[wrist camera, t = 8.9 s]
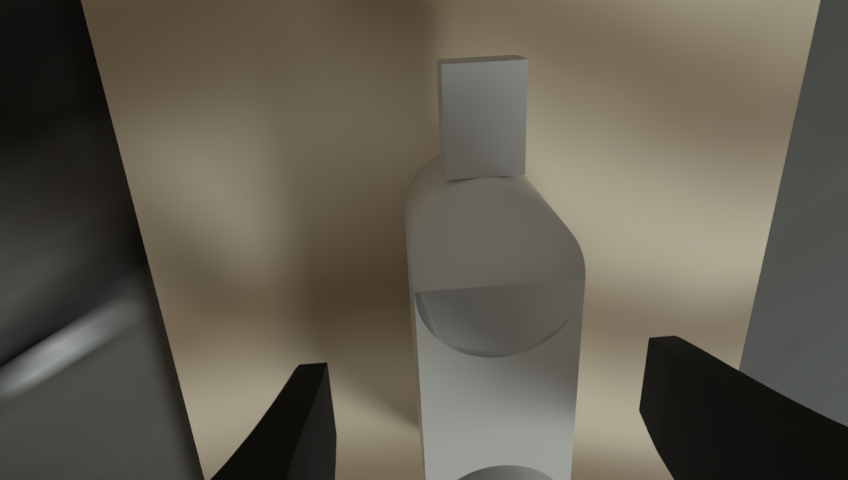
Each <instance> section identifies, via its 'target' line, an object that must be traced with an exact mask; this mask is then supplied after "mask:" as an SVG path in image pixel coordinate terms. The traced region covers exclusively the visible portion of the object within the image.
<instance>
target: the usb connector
mask: <svg viewBox="0 0 848 480" xmlns="http://www.w3.org/2000/svg"><path fill="white" fill-rule="evenodd" d="M436 60H437V87H438V114H439V140H440V155H439V156H437V157H435V158H433V159H432V160H431V161H429V162H428V163H427V164H426V165H425V166H424V167H423V168H422V169H421V170H420V171H419V172H418V173H417V175H416V176H415V178H414V179H413V181H412V182H411V184H410V187H409V189H408V192H407V195H406V199H405V206H404V217H405V232H406V248H407V263H408V278H409V293H410V308H411V323H412V338H413V353H414V368H415V383H416V398H417V412H418V422H419V432H420V442H421V453H422V463H423V473H424V480H571V467H572V454H573V440H574V427H575V413H576V400H577V386H578V373H579V359H580V346H581V332H582V318H583V305H584V291H585V262H584V257H583V254H582V250H581V248H580V246H579V244H578V242H577V240H576V238H575V237H574V235H573V234H572V233H571V231H570V230H569V229H568V227H567V226H566V225H565V224H564V223H563V221H562V220H561V219H560V218H559V216H558V215H557V214H556V213H555V212H554V210H553V209H552V208H551V207H550V205H549V204H548V203H547V202H546V201H545V199H544V198H543V197H542V196H541V194H540V193H539V192H538V191H537V189H536V188H535V187H534V186H533V185H532V183H531V182H530V181H529V180H528V178H527V177H526V176H525V159H526V117H527V76H528V59H526V58H524V57H521V56H519V55H501V56H484V57H467V58H450V59H436Z"/></svg>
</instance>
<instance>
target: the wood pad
mask: <svg viewBox="0 0 848 480" xmlns="http://www.w3.org/2000/svg"><path fill="white" fill-rule="evenodd" d="M81 3H82V7H83V11H84V14H85V18H86V22H87V26H88V30H89V34H90V38H91V42H92V45H93V49H94V53H95V57H96V61H97V65H98V69H99V73H100V76H101V80H102V84H103V88H104V92H105V96H106V100H107V104H108V107H109V111H110V115H111V119H112V123H113V127H114V131H115V135H116V138H117V142H118V146H119V150H120V154H121V158H122V162H123V166H124V169H125V173H126V177H127V181H128V185H129V189H130V193H131V197H132V200H133V204H134V208H135V212H136V216H137V220H138V224H139V228H140V231H141V235H142V239H143V243H144V247H145V251H146V255H147V259H148V262H149V266H150V270H151V274H152V278H153V282H154V286H155V289H156V293H157V297H158V301H159V305H160V309H161V313H162V317H163V320H164V324H165V328H166V332H167V336H168V340H169V344H170V348H171V351H172V355H173V359H174V363H175V367H176V371H177V375H178V379H179V382H180V386H181V390H182V394H183V398H184V402H185V406H186V410H187V413H188V417H189V421H190V425H191V429H192V433H193V437H194V441H195V444H196V448H197V452H198V456H199V460H200V464H201V468H202V472H203V475H204V479H205V480H210V479H211V478H212V477H213V476H214V475H215V474H216V473H217V472H218V471H219V470H220V468H221V467H222V466H223V465H224V464H225V463H226V462H227V461H228V459H229V458H230V457H231V456H232V455H233V453H234V452H235V451H236V450H237V449H238V447H239V446H240V445H241V444H242V443H243V441H244V440H245V439H246V438H247V437H248V435H249V434H250V433H251V432H252V430H253V429H254V428H255V426H256V425H257V424H258V422H259V421H260V420H261V418H262V417H263V415H264V414H265V413H266V411H267V410H268V409H269V407H270V406H271V405H272V403H273V402H274V400H275V399H276V397H277V396H278V394H279V393H280V391H281V390H282V388H283V387H284V385H285V384H286V382H287V381H288V379H289V378H290V376H291V374H292V373H293V371H294V370H295V368H296V367H297V366H298V365H299V364H311V363H324V362H327V363H328V371H329V379H330V387H331V395H332V402H333V410H334V418H335V426H336V434H337V443H336V469H335V480H424V473H423V463H422V453H421V442H420V432H419V422H418V412H417V398H416V383H415V368H414V353H413V338H412V323H411V308H410V293H409V278H408V263H407V248H406V232H405V217H404V206H405V199H406V195H407V192H408V189H409V187H410V184H411V182H412V181H413V179H414V178H415V176H416V175H417V173H418V172H419V171H420V170H421V169H422V168H423V167H424V166H425V165H426V164H427V163H428V162H429V161H431V160H432V159H433V158H435V157H437V156H439V155H440V140H439V114H438V87H437V60H436V59H450V58H467V57H484V56H501V55H519V56H521V57H524V58H526V59H528V76H527V117H526V159H525V176H526V177H527V178H528V180H529V181H530V182H531V183H532V185H533V186H534V187H535V188H536V189H537V191H538V192H539V193H540V194H541V196H542V197H543V198H544V199H545V201H546V202H547V203H548V204H549V205H550V207H551V208H552V209H553V210H554V212H555V213H556V214H557V215H558V216H559V218H560V219H561V220H562V221H563V223H564V224H565V225H566V226H567V227H568V229H569V230H570V231H571V233H572V234H573V235H574V237H575V238H576V240H577V242H578V244H579V246H580V248H581V250H582V254H583V257H584V262H585V291H584V305H583V318H582V332H581V346H580V359H579V373H578V386H577V400H576V413H575V427H574V440H573V454H572V467H571V480H674V479H673V477H672V475H671V474H670V472H669V471H668V469H667V467H666V466H665V464H664V462H663V461H662V459H661V457H660V456H659V454H658V452H657V450H656V448H655V446H654V444H653V442H652V440H651V437H650V435H649V433H648V431H647V428H646V426H645V424H644V421H643V419H642V417H641V414H640V412H639V406H640V399H641V391H642V384H643V377H644V370H645V363H646V356H647V349H648V342H649V337H662V336H675V335H676V336H678V337H680V338H682V339H684V340H686V341H688V342H690V343H691V344H693V345H695V346H697V347H699V348H700V349H702V350H704V351H706V352H707V353H709V354H711V355H713V356H714V357H716V358H718V359H719V360H721V361H723V362H725V363H726V364H728V365H730V366H732V367H733V368H735V369H737V370H739V366H740V361H741V357H742V352H743V348H744V343H745V339H746V334H747V330H748V325H749V321H750V316H751V312H752V307H753V303H754V298H755V294H756V289H757V285H758V280H759V275H760V271H761V266H762V262H763V257H764V253H765V248H766V244H767V239H768V235H769V230H770V226H771V221H772V217H773V212H774V208H775V203H776V199H777V194H778V190H779V185H780V181H781V176H782V172H783V167H784V163H785V158H786V154H787V149H788V144H789V140H790V135H791V131H792V126H793V122H794V117H795V113H796V108H797V104H798V99H799V95H800V90H801V86H802V81H803V77H804V72H805V68H806V63H807V59H808V54H809V50H810V45H811V41H812V36H813V32H814V27H815V23H816V18H817V14H818V9H819V4H820V0H81Z"/></svg>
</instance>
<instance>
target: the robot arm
mask: <svg viewBox="0 0 848 480" xmlns="http://www.w3.org/2000/svg"><path fill="white" fill-rule="evenodd" d="M639 412H640V414H641V417H642V419H643V421H644V424H645V426H646V428H647V431H648V433H649V435H650V437H651V440H652V442H653V444H654V446H655V448H656V450H657V452H658V454H659V456H660V457H661V459H662V461H663V462H664V464H665V466H666V467H667V469H668V471H669V472H670V474H671V475H672V477H673V479H674V480H848V427H847V426H845V425H842V424H840V423H838V422H836V421H833V420H831V419H829V418H827V417H825V416H823V415H821V414H819V413H817V412H815V411H813V410H811V409H809V408H807V407H805V406H803V405H801V404H799V403H797V402H795V401H793V400H791V399H789V398H787V397H785V396H783V395H782V394H780V393H778V392H776V391H774V390H772V389H770V388H769V387H767V386H765V385H763V384H761V383H760V382H758V381H756V380H754V379H753V378H751V377H749V376H747V375H745V374H744V373H742V372H740V371H738V370H737V369H735V368H733V367H732V366H730V365H728V364H726V363H725V362H723V361H721V360H719V359H718V358H716V357H714V356H713V355H711V354H709V353H707V352H706V351H704V350H702V349H700V348H699V347H697V346H695V345H693V344H691V343H690V342H688V341H686V340H684V339H682V338H680V337H678V336H676V335H675V336H662V337H649V342H648V349H647V356H646V363H645V370H644V377H643V384H642V391H641V399H640V406H639ZM336 443H337V434H336V426H335V418H334V410H333V402H332V395H331V387H330V379H329V371H328V363H327V362H324V363H311V364H299V365H298V366H297V367H296V368H295V370H294V371H293V373H292V374H291V376H290V378H289V379H288V381H287V382H286V384H285V385H284V387H283V388H282V390H281V391H280V393H279V394H278V396H277V397H276V399H275V400H274V402H273V403H272V405H271V406H270V407H269V409H268V410H267V411H266V413H265V414H264V415H263V417H262V418H261V420H260V421H259V422H258V424H257V425H256V426H255V428H254V429H253V430H252V432H251V433H250V434H249V435H248V437H247V438H246V439H245V440H244V441H243V443H242V444H241V445H240V446H239V447H238V449H237V450H236V451H235V452H234V453H233V455H232V456H231V457H230V458H229V459H228V461H227V462H226V463H225V464H224V465H223V466H222V467H221V468H220V470H219V471H218V472H217V473H216V474H215V475H214V476H213V477H212V478H211V479H210V480H335V469H336Z"/></svg>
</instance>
